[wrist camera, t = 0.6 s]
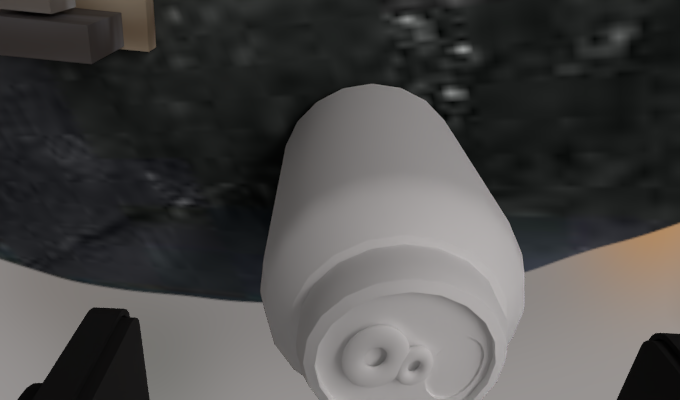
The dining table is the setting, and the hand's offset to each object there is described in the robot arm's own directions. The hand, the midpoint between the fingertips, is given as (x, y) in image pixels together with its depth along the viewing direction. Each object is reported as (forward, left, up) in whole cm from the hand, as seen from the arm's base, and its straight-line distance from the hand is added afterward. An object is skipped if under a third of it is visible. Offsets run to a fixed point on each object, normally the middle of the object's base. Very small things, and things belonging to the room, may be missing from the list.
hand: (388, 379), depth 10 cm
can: (+7, +3, -28) cm, 29 cm away
